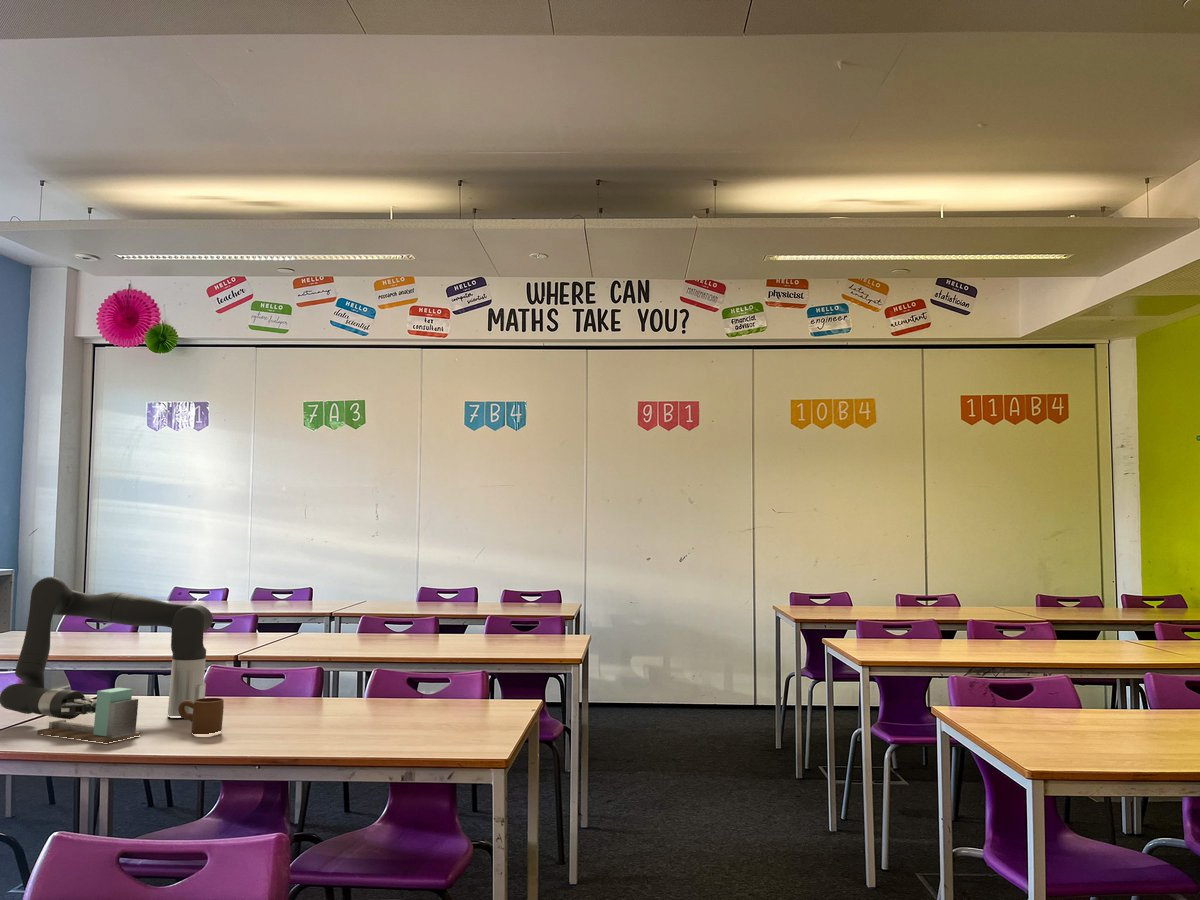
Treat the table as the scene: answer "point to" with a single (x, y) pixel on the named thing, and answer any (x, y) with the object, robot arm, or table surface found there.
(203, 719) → the mug
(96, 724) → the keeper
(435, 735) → the table surface
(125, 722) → the rail
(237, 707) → the table surface
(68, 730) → the board
